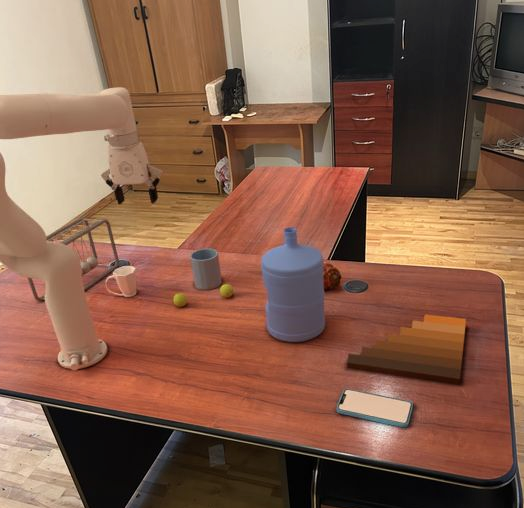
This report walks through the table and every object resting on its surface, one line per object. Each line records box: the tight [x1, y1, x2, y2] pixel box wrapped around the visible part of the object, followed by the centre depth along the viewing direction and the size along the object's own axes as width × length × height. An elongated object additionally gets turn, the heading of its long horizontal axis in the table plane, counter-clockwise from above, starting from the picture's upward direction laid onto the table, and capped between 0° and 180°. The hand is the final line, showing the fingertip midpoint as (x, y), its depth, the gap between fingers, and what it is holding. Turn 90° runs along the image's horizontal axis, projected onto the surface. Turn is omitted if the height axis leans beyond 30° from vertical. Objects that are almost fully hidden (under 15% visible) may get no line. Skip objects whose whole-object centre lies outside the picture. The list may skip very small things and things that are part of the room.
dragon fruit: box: [323, 262, 342, 290], centre depth 162 cm, size 8×8×12 cm
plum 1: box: [172, 292, 188, 308], centre depth 160 cm, size 4×4×4 cm
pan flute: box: [346, 314, 467, 385], centre depth 133 cm, size 25×3×25 cm
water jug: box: [260, 226, 326, 343], centre depth 139 cm, size 16×16×28 cm
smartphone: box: [336, 388, 414, 428], centre depth 116 cm, size 8×1×15 cm
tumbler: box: [189, 248, 223, 291], centre depth 169 cm, size 9×9×10 cm
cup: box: [105, 265, 138, 298], centre depth 168 cm, size 7×10×8 cm
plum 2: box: [219, 283, 234, 298], centre depth 163 cm, size 4×4×4 cm
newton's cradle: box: [26, 216, 120, 302], centre depth 175 cm, size 30×10×18 cm, turn 156°
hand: (137, 202), depth 151 cm, fingers open, 9 cm apart
